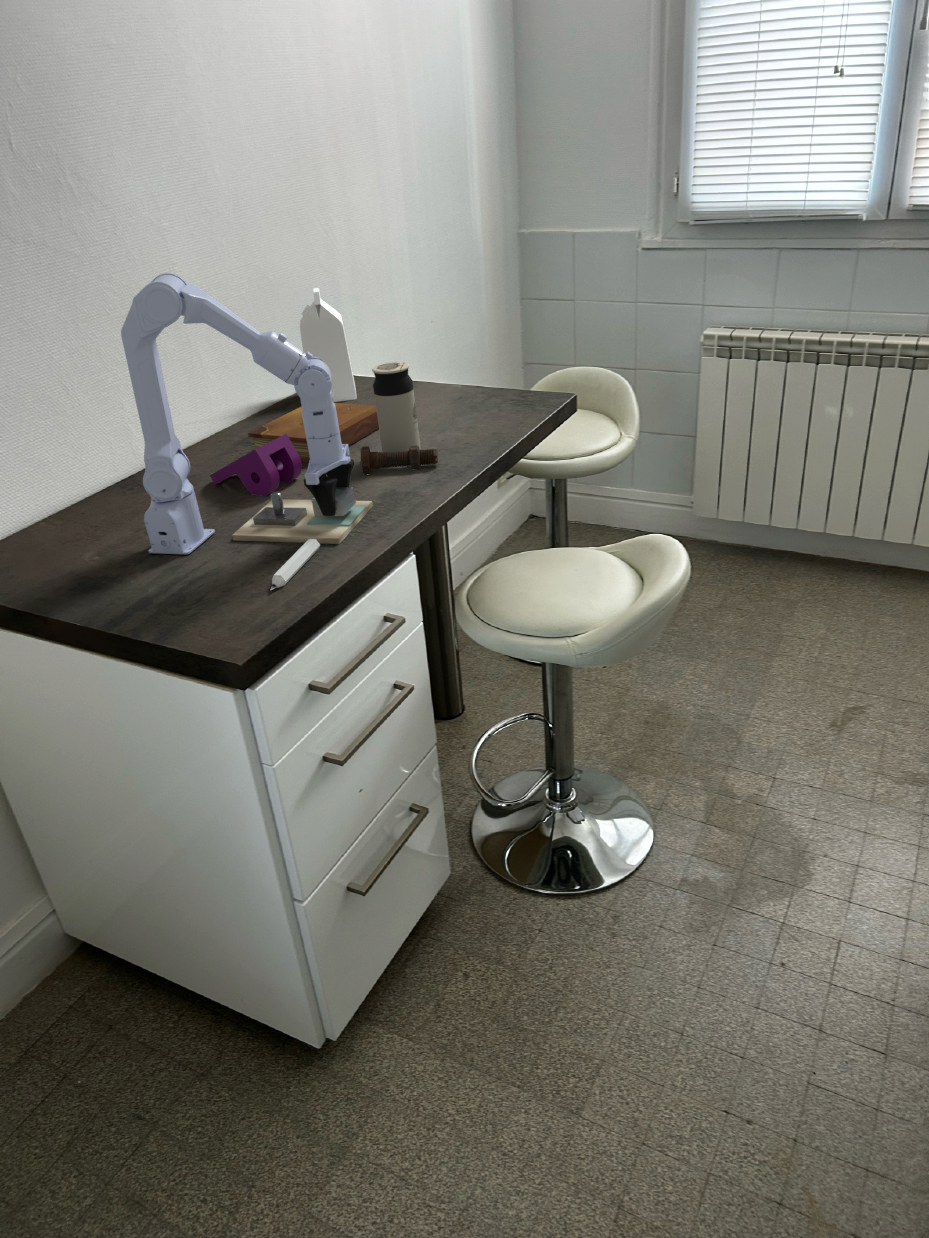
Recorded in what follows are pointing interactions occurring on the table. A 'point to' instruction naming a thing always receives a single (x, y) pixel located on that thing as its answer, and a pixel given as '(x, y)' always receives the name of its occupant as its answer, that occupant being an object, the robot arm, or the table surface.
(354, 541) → the table surface
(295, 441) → the diary
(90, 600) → the table surface
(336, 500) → the square hollow frame
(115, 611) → the table surface
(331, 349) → the milk
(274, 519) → the peg base
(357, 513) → the board
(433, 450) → the bolt
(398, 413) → the travel mug
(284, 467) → the mounting bracket
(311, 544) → the marker
